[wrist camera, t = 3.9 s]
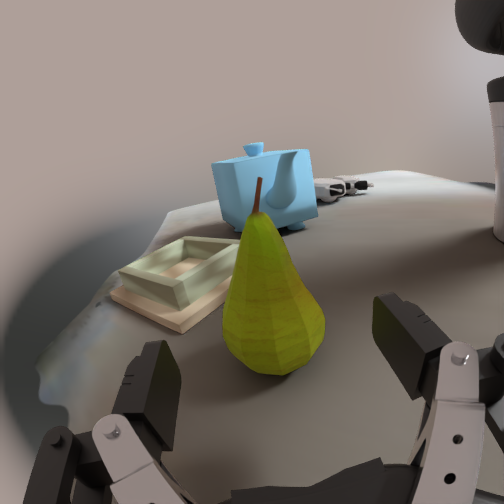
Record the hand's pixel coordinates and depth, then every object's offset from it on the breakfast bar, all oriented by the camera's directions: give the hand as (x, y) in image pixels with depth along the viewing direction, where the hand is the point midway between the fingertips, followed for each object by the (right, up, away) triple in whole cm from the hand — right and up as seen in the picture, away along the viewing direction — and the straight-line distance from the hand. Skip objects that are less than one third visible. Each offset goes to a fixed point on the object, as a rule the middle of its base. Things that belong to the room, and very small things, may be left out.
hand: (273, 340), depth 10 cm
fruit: (+1, -4, +8) cm, 10 cm away
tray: (-8, 0, +22) cm, 24 cm away
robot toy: (+17, +15, +50) cm, 55 cm away
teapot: (+2, +6, +35) cm, 36 cm away
